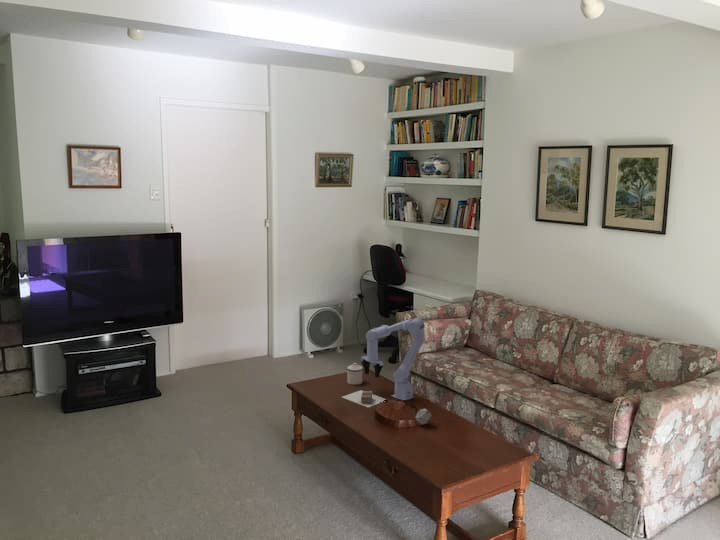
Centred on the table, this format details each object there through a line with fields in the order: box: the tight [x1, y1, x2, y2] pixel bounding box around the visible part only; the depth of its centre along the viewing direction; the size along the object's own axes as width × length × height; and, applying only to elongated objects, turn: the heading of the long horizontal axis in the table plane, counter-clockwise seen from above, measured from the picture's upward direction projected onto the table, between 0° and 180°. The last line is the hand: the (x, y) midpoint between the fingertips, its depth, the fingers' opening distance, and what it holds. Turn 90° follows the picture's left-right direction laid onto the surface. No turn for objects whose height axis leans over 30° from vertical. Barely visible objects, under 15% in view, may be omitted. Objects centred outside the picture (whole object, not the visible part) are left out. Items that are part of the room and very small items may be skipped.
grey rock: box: [412, 406, 434, 427], centre depth 296 cm, size 9×8×10 cm
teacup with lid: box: [346, 362, 364, 386], centre depth 353 cm, size 12×9×12 cm
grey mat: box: [341, 389, 386, 408], centre depth 328 cm, size 20×15×1 cm
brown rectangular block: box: [361, 390, 373, 404], centre depth 324 cm, size 8×5×4 cm, turn 174°
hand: (372, 375), depth 338 cm, fingers open, 7 cm apart
